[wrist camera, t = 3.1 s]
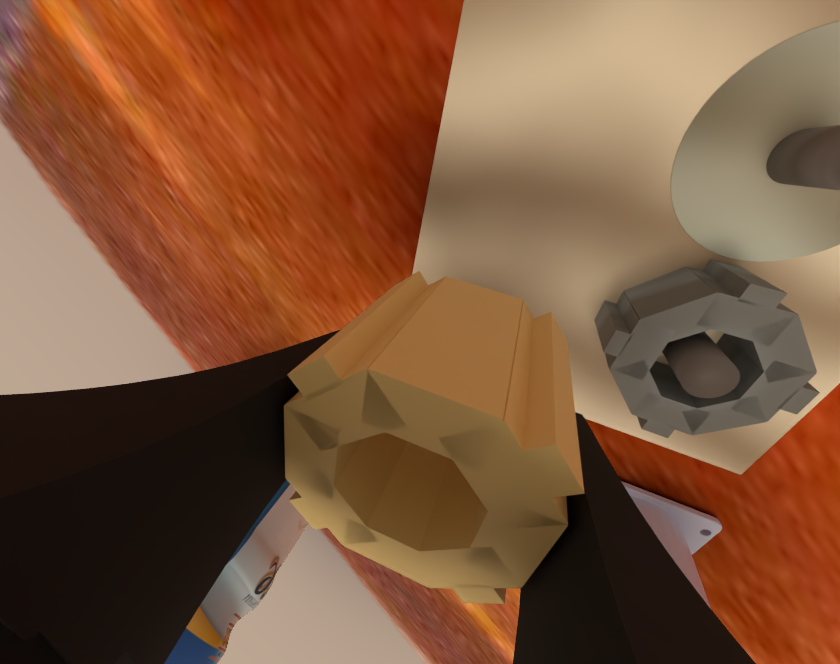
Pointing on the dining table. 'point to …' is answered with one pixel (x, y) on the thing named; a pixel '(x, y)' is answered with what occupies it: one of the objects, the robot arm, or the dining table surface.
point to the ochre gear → (439, 436)
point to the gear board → (654, 204)
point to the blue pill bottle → (241, 581)
